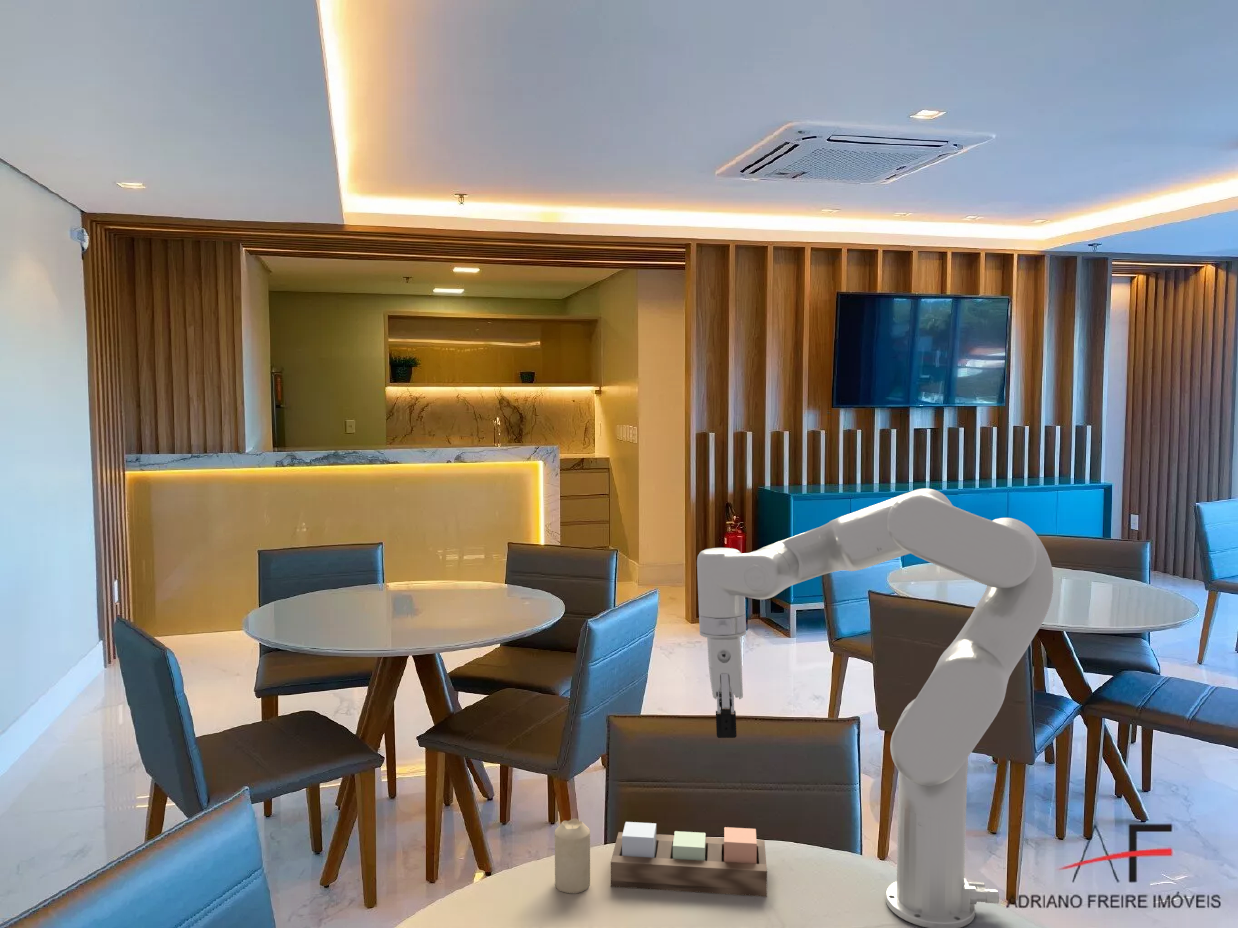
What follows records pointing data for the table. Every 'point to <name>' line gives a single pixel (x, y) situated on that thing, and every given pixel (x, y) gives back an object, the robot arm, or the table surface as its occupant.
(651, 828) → the greyblue button
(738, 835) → the terracotta button
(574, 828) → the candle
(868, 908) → the table surface
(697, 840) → the sage button
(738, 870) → the button panel
